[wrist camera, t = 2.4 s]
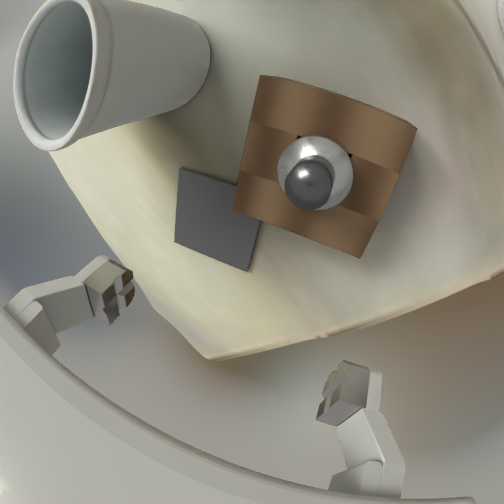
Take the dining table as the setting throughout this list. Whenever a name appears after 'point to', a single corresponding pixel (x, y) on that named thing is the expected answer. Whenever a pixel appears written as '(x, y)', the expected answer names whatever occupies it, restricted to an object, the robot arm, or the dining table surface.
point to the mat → (213, 220)
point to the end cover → (315, 172)
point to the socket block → (338, 128)
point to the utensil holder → (103, 67)
